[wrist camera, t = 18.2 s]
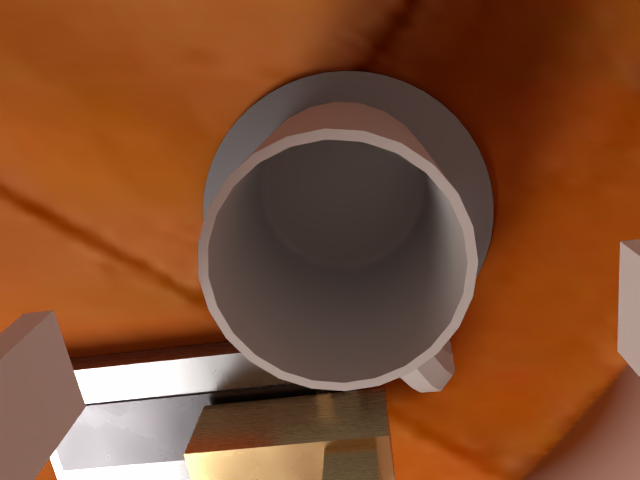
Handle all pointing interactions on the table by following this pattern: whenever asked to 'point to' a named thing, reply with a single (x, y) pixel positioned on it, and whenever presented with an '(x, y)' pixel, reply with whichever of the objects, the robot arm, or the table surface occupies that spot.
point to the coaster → (384, 94)
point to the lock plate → (156, 408)
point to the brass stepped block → (294, 439)
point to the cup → (340, 254)
